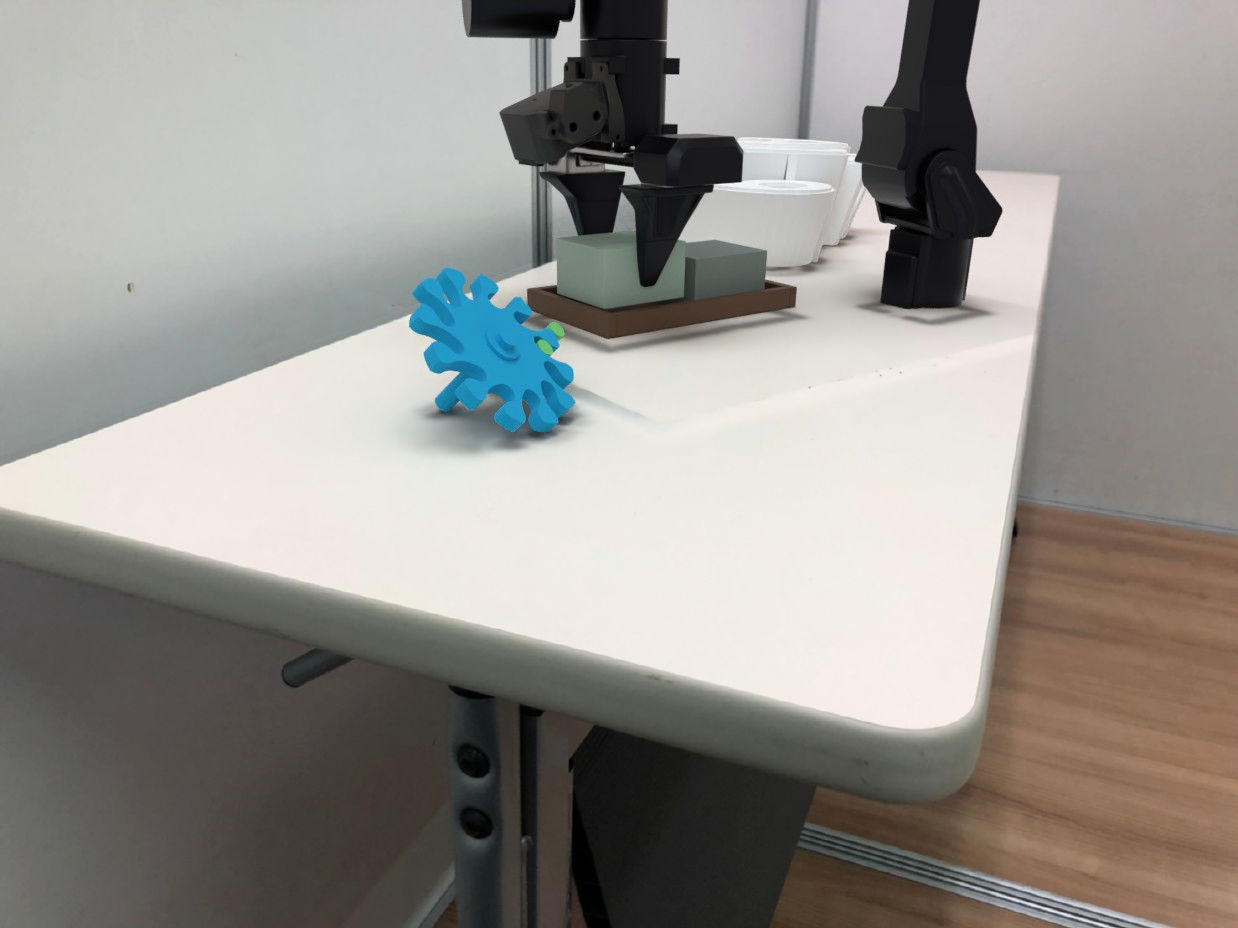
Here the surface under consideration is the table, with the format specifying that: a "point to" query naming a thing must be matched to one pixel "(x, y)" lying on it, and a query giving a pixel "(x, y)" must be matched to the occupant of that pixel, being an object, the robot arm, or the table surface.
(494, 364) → the gear
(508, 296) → the table surface
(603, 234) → the pale green block
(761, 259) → the pad
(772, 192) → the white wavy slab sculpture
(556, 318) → the tray
